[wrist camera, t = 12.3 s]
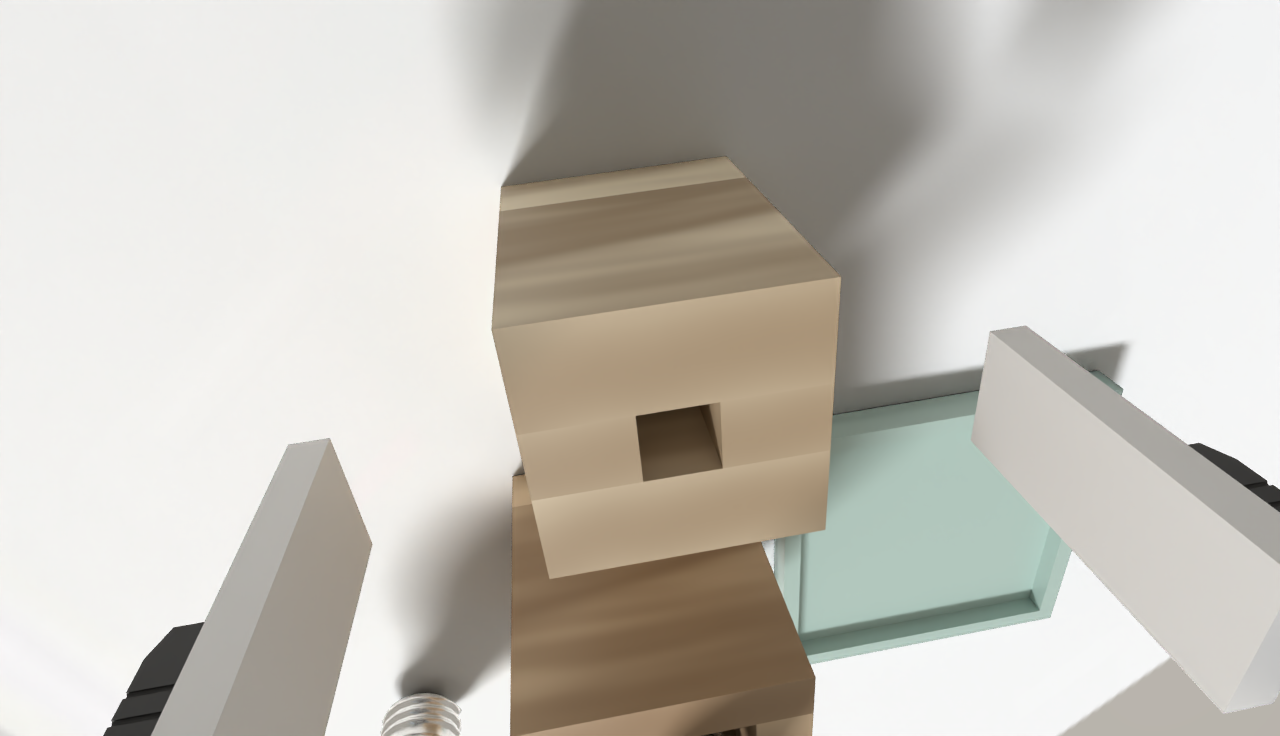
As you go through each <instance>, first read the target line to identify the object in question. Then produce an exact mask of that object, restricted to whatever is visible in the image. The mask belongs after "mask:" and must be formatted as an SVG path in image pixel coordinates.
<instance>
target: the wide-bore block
mask: <svg viewBox="0 0 1280 736" xmlns="http://www.w3.org/2000/svg"><path fill="white" fill-rule="evenodd" d="M814 693H815V675H814V673H813V670H812V668H811V665H810V663H809V660H808V658H807V655H806V653H805V650H804V648H803V645H802V643H801V640H800V638H799V635H798V633H797V630H796V628H795V625H794V623H793V620H792V618H791V615H790V613H789V610H788V608H787V605H786V603H785V601H784V598H783V596H782V593H781V591H780V588H779V586H778V583H777V581H776V578H775V576H774V573H773V571H772V568H771V566H770V563H769V561H768V558H767V556H766V553H765V551H764V548H763V546H762V543H761V541H760V542H755V543H749V544H744V545H738V546H732V547H727V548H721V549H716V550H710V551H704V552H699V553H693V554H688V555H682V556H676V557H671V558H665V559H660V560H654V561H648V562H643V563H637V564H632V565H626V566H620V567H615V568H609V569H604V570H598V571H592V572H587V573H581V574H576V575H570V576H564V577H559V578H553V579H549V575H548V570H547V566H546V562H545V557H544V553H543V549H542V545H541V540H540V536H539V532H538V527H537V523H536V519H535V514H534V510H533V506H532V502H531V497H530V493H529V489H528V484H527V480H526V476H525V474H524V475H518V476H513V487H512V600H511V713H510V736H702V735H707V734H712V733H717V732H722V734H723V736H812V727H813V710H814Z"/></svg>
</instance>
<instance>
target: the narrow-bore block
mask: <svg viewBox="0 0 1280 736" xmlns="http://www.w3.org/2000/svg"><path fill="white" fill-rule="evenodd" d="M840 288H841V276H840V275H839V274H838V273H837V272H836V271H835V270H834V269H833V268H832V267H831V266H830V265H829V263H828V262H827V261H826V260H825V259H824V258H823V257H822V256H821V255H820V254H819V253H818V252H817V251H816V250H815V249H814V248H813V247H812V246H811V245H810V244H809V242H808V241H807V240H806V239H805V238H804V237H803V236H802V235H801V234H800V233H799V232H798V231H797V230H796V229H795V228H794V227H793V226H792V225H791V224H790V223H789V222H788V220H787V219H786V218H785V217H784V216H783V215H782V214H781V213H780V212H779V211H778V210H777V209H776V208H775V207H774V206H773V205H772V204H771V203H770V202H769V201H768V200H767V198H766V197H765V196H764V195H763V194H762V193H761V192H760V191H759V190H758V189H757V188H756V187H755V186H754V185H753V184H752V183H751V182H750V181H749V180H748V179H747V178H746V176H745V175H744V174H743V173H742V172H741V171H740V170H739V169H738V168H737V167H736V166H735V165H734V164H733V163H732V162H731V161H730V160H729V159H728V158H727V157H726V156H723V157H716V158H709V159H701V160H694V161H687V162H679V163H672V164H665V165H657V166H650V167H643V168H635V169H628V170H621V171H613V172H606V173H599V174H591V175H584V176H577V177H569V178H562V179H555V180H547V181H540V182H533V183H525V184H518V185H510V186H503V187H501V197H500V211H499V226H498V241H497V256H496V271H495V285H494V300H493V315H492V334H493V338H494V342H495V347H496V351H497V355H498V360H499V364H500V368H501V373H502V377H503V381H504V385H505V390H506V394H507V398H508V403H509V407H510V411H511V416H512V420H513V424H514V428H515V433H516V437H517V441H518V446H519V450H520V454H521V459H522V463H523V467H524V471H525V476H526V480H527V484H528V489H529V493H530V497H531V502H532V506H533V510H534V514H535V519H536V523H537V527H538V532H539V536H540V540H541V545H542V549H543V553H544V557H545V562H546V566H547V570H548V575H549V579H553V578H559V577H564V576H570V575H576V574H581V573H587V572H592V571H598V570H604V569H609V568H615V567H620V566H626V565H632V564H637V563H643V562H648V561H654V560H660V559H665V558H671V557H676V556H682V555H688V554H693V553H699V552H704V551H710V550H716V549H721V548H727V547H732V546H738V545H744V544H749V543H755V542H760V541H766V540H772V539H777V538H783V537H788V536H794V535H800V534H805V533H811V532H816V531H822V530H825V529H826V513H827V497H828V481H829V465H830V449H831V433H832V417H833V401H834V385H835V369H836V353H837V337H838V321H839V305H840Z"/></svg>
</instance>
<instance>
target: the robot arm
mask: <svg viewBox="0 0 1280 736" xmlns="http://www.w3.org/2000/svg"><path fill="white" fill-rule="evenodd" d="M971 441H972V442H973V444H974V445H975V446H976V447H977V448H978V449H979V450H980V451H981V452H982V453H983V454H984V455H985V457H986V458H987V459H988V460H989V461H990V462H991V463H992V464H993V465H994V466H995V467H996V468H997V470H998V471H999V472H1000V473H1001V474H1002V475H1003V476H1004V477H1005V478H1006V479H1007V480H1008V481H1009V482H1010V484H1011V485H1012V486H1013V487H1014V488H1015V489H1016V490H1017V491H1018V492H1019V493H1020V494H1021V495H1022V497H1023V498H1024V499H1025V500H1026V501H1027V502H1028V503H1029V504H1030V505H1031V506H1032V507H1033V508H1034V510H1035V511H1036V512H1037V513H1038V514H1039V515H1040V516H1041V517H1042V518H1043V519H1044V520H1045V521H1046V522H1047V524H1048V525H1049V526H1050V527H1051V528H1052V529H1053V530H1054V531H1055V532H1056V533H1057V534H1058V535H1059V537H1060V538H1061V539H1062V540H1063V541H1064V542H1065V543H1066V544H1067V545H1068V546H1069V547H1070V548H1071V549H1072V551H1073V552H1074V553H1075V554H1076V555H1077V556H1078V557H1079V558H1080V559H1081V560H1082V561H1083V562H1084V564H1085V565H1086V566H1087V567H1088V568H1089V569H1090V570H1091V571H1092V572H1093V573H1094V574H1095V575H1096V577H1097V578H1098V579H1099V580H1100V581H1101V582H1102V583H1103V584H1104V585H1105V586H1106V587H1107V588H1108V589H1109V591H1110V592H1111V593H1112V594H1113V595H1114V596H1115V597H1116V598H1117V599H1118V600H1119V601H1120V602H1121V604H1122V605H1123V606H1124V607H1125V608H1126V609H1127V610H1128V611H1129V612H1130V613H1131V614H1132V615H1133V617H1134V618H1135V619H1136V620H1137V621H1138V622H1139V623H1140V624H1141V625H1142V626H1143V627H1144V628H1145V629H1146V631H1147V632H1148V633H1149V634H1150V635H1151V636H1152V637H1153V638H1154V639H1155V640H1156V641H1157V642H1158V644H1159V645H1160V646H1161V647H1162V648H1163V649H1164V650H1165V651H1166V652H1167V653H1168V654H1169V655H1170V657H1171V658H1172V659H1173V660H1174V661H1175V662H1176V663H1177V664H1178V665H1179V666H1180V667H1181V668H1182V669H1183V671H1184V672H1185V673H1186V674H1187V675H1188V676H1189V677H1190V678H1191V679H1192V680H1193V681H1194V682H1195V684H1196V685H1197V686H1198V687H1199V688H1200V689H1201V690H1202V691H1203V692H1204V693H1205V694H1206V695H1207V696H1208V698H1209V699H1210V700H1211V701H1212V702H1213V703H1214V704H1215V705H1216V706H1217V707H1218V708H1219V709H1220V711H1221V712H1222V713H1223V714H1225V713H1230V712H1234V711H1239V710H1244V709H1249V708H1254V707H1258V706H1263V705H1267V704H1272V703H1273V702H1274V701H1275V699H1276V697H1277V696H1278V694H1279V692H1280V490H1279V489H1278V488H1277V487H1275V486H1274V485H1271V486H1269V485H1268V484H1267V480H1265V479H1264V478H1262V477H1261V476H1260V475H1258V474H1257V473H1255V472H1254V471H1253V470H1251V469H1250V468H1248V467H1247V466H1245V465H1244V464H1243V463H1241V462H1240V461H1238V460H1237V459H1235V458H1232V457H1230V456H1228V455H1226V454H1223V453H1221V452H1219V451H1217V450H1214V449H1212V448H1210V447H1207V446H1205V445H1203V444H1201V443H1196V444H1190V445H1187V444H1186V443H1185V442H1183V441H1182V440H1181V439H1179V438H1178V437H1176V436H1175V435H1174V434H1172V433H1171V432H1170V431H1168V430H1167V429H1166V428H1164V427H1163V426H1162V425H1160V424H1159V423H1157V422H1156V421H1155V420H1153V419H1152V418H1151V417H1149V416H1148V415H1147V414H1145V413H1144V412H1142V411H1141V410H1140V409H1138V408H1137V407H1136V406H1134V405H1133V404H1132V403H1130V402H1129V401H1128V400H1126V399H1125V398H1123V397H1122V396H1121V395H1119V394H1118V393H1117V392H1115V391H1114V390H1113V389H1111V388H1110V387H1109V386H1107V385H1106V384H1104V383H1103V382H1102V381H1100V380H1099V379H1098V378H1096V377H1095V376H1094V375H1092V374H1091V373H1089V372H1088V371H1087V370H1085V369H1084V368H1083V367H1081V366H1080V365H1079V364H1077V363H1076V362H1075V361H1073V360H1072V359H1070V358H1069V357H1068V356H1066V355H1065V354H1064V353H1062V352H1061V351H1060V350H1058V349H1057V348H1056V347H1054V346H1053V345H1051V344H1050V343H1049V342H1047V341H1046V340H1045V339H1043V338H1042V337H1041V336H1039V335H1038V334H1036V333H1035V332H1034V331H1032V330H1031V329H1030V328H1028V327H1027V326H1020V327H1014V328H1008V329H1002V330H995V331H990V334H989V340H988V345H987V351H986V357H985V362H984V368H983V373H982V379H981V385H980V390H979V396H978V402H977V407H976V413H975V418H974V424H973V430H972V435H971ZM371 547H372V542H371V540H370V537H369V535H368V532H367V530H366V527H365V525H364V522H363V520H362V517H361V515H360V512H359V510H358V507H357V505H356V502H355V500H354V497H353V495H352V492H351V490H350V487H349V485H348V482H347V480H346V477H345V475H344V472H343V470H342V467H341V465H340V462H339V460H338V457H337V455H336V452H335V450H334V447H333V445H332V442H331V440H330V438H327V439H321V440H315V441H309V442H303V443H296V444H290V445H288V446H287V449H286V451H285V453H284V455H283V457H282V459H281V461H280V463H279V466H278V468H277V470H276V472H275V474H274V476H273V478H272V480H271V482H270V485H269V487H268V489H267V491H266V493H265V495H264V497H263V499H262V502H261V504H260V506H259V508H258V510H257V512H256V514H255V516H254V518H253V521H252V523H251V525H250V527H249V529H248V531H247V533H246V535H245V537H244V540H243V542H242V544H241V546H240V548H239V550H238V552H237V554H236V557H235V559H234V561H233V563H232V565H231V567H230V569H229V571H228V573H227V576H226V578H225V580H224V582H223V584H222V586H221V588H220V590H219V593H218V595H217V597H216V599H215V601H214V603H213V605H212V607H211V609H210V612H209V614H208V616H207V618H206V620H205V622H202V623H197V624H191V625H185V626H180V627H174V628H173V629H172V630H171V631H170V632H169V633H168V634H167V635H166V636H165V637H164V638H163V640H162V641H161V642H160V643H159V644H158V645H157V646H156V647H155V648H154V649H153V650H152V651H151V652H150V653H149V654H148V656H147V657H146V658H145V659H144V660H143V662H142V664H141V666H140V668H139V670H138V672H137V673H136V675H135V677H134V679H133V681H132V683H131V685H130V687H129V688H128V690H127V692H126V693H127V698H126V699H123V700H122V702H121V703H120V705H119V707H118V709H117V711H116V713H115V715H114V717H113V718H112V720H111V721H112V726H111V727H109V728H107V730H106V732H105V734H104V735H103V736H324V735H325V731H326V727H327V723H328V719H329V715H330V711H331V707H332V703H333V699H334V695H335V691H336V687H337V683H338V679H339V675H340V671H341V667H342V663H343V659H344V655H345V651H346V647H347V643H348V639H349V635H350V631H351V627H352V623H353V619H354V615H355V611H356V607H357V603H358V599H359V595H360V591H361V587H362V583H363V579H364V575H365V571H366V567H367V563H368V559H369V555H370V551H371Z"/></svg>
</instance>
